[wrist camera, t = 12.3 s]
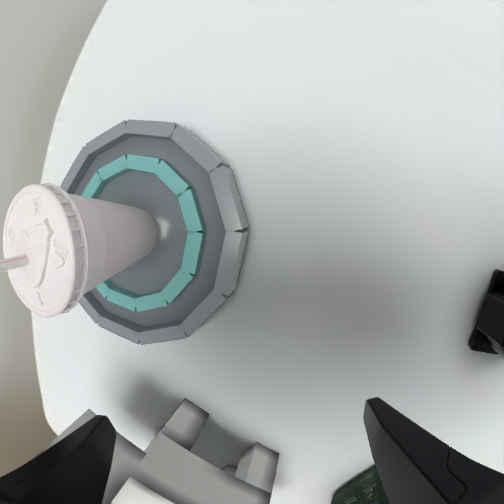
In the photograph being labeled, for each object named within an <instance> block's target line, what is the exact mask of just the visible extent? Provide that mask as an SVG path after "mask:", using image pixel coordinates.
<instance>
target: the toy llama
mask: <svg viewBox="0 0 504 504" xmlns="http://www.w3.org/2000/svg"><path fill="white" fill-rule="evenodd" d="M94 416H96V414H95V413H94V412H93V411H91V410H90V409H88V410H87V411H86V412H85V413H84V414H83V415H82V416H80V417H79V418H78V419H77V420H76V421H75V422H74V423H73V424H71V425H70V426H69V427H68V428H67V429H66V430H65V431H64V432H62V433H61V434H60V435H59V436H58V437H57V438H56V439H55V440H53V441H52V442H51V443H50V444H49V445H48V446H47V447H46V448H45V449H43V450H42V451H41V452H40V453H39V454H38V455H40V454H41V453H43V452H44V451H46V450H47V449H48V448H50V447H51V446H53V445H54V444H56V443H57V442H59V441H60V440H62V439H63V438H65V437H66V436H67V435H69V434H70V433H72V432H73V431H75V430H76V429H78V428H79V427H80V426H82V425H83V424H85V423H86V422H87V421H89V420H90V419H92V418H93V417H94ZM208 416H209V414H208V413H207V412H205V411H204V410H202V409H201V408H199V407H198V406H196V405H195V404H193V403H192V402H190V401H189V400H187V399H186V398H185V399H184V401H183V402H182V403H181V405H180V406H179V407H178V408H177V410H176V411H175V412H174V414H173V415H172V416H171V418H170V419H169V421H168V422H167V423H166V425H164V426H163V427H162V428H161V430H160V431H159V432H158V433H157V435H156V436H155V437H154V439H153V440H152V441H151V443H150V444H149V446H148V447H147V448H146V450H145V451H142V450H141V449H139V448H138V447H136V446H135V445H134V444H132V443H131V442H130V441H128V440H127V439H126V438H124V437H123V436H122V435H120V434H119V433H118V432H117V431H116V442H115V448H114V454H113V460H112V466H111V470H110V474H109V478H108V482H107V486H106V489H105V493H104V497H103V501H102V504H110V503H112V504H269V503H270V498H271V493H272V489H273V484H274V479H275V474H276V468H277V463H278V458H279V453H277V452H275V451H273V450H271V449H269V448H267V447H265V446H263V445H261V444H260V443H258V442H256V443H255V444H254V445H252V446H251V447H250V448H249V449H248V450H246V451H245V452H244V453H243V454H242V455H241V458H240V461H239V464H238V467H237V468H235V467H233V466H231V465H227V466H226V467H225V468H223V469H222V470H221V469H219V468H217V467H216V466H214V465H212V464H210V463H208V462H207V461H205V460H203V459H201V458H200V457H198V456H196V455H195V454H193V453H191V452H190V450H191V448H192V446H193V444H194V442H195V440H196V438H197V437H198V435H199V433H200V431H201V429H202V427H203V425H204V423H205V422H206V420H207V418H208ZM38 455H37V456H38ZM37 456H35V457H37ZM35 457H34V458H35ZM34 458H33V459H34Z"/></svg>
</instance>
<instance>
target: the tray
mask: <svg viewBox="0 0 504 504" xmlns="http://www.w3.org/2000/svg"><path fill="white" fill-rule="evenodd" d="M60 187H61V188H62V189H63V190H64V191H65V192H67V193H68V194H74V195H78V196H83V197H88V198H93V199H98V200H104V201H108V202H113V203H118V204H123V205H128V206H133V207H138V208H142V209H144V210H146V211H147V212H148V213H149V214H150V215H151V216H152V217H153V219H154V221H155V224H156V227H157V241H156V244H155V247H154V248H153V250H152V251H151V252H150V253H149V254H148V255H147V256H145V257H144V258H142V259H140V260H139V261H137V262H135V263H134V264H132V265H130V266H129V267H127V268H125V269H124V270H122V271H120V272H119V273H117V274H115V275H114V276H112V277H110V278H109V279H107V280H106V281H104V282H102V283H101V284H99V285H98V286H96V287H94V288H93V289H92V290H90V291H88V292H87V293H85V294H83V295H82V297H81V299H80V300H79V303H80V305H81V306H82V307H83V308H84V310H85V311H86V312H87V313H88V315H89V316H90V317H91V318H92V320H93V321H94V322H95V323H98V326H100V327H102V328H104V329H106V330H108V331H110V332H112V333H115V334H117V335H119V336H121V337H123V338H125V339H128V340H130V341H132V342H134V343H137V344H139V343H141V345H143V344H151V343H158V342H164V341H171V340H177V339H184V338H187V337H188V336H190V335H191V334H192V333H193V332H194V331H195V330H196V329H197V328H198V327H199V326H200V325H201V324H202V323H203V322H204V321H205V320H206V319H207V318H208V317H209V316H210V315H211V314H212V313H213V312H214V311H215V310H216V309H217V308H218V307H219V306H220V305H221V304H222V303H223V302H224V301H225V300H226V299H227V298H228V297H229V296H230V295H231V294H232V293H233V292H234V289H235V288H236V285H237V281H238V276H239V272H240V268H241V263H242V259H243V255H244V250H245V246H246V241H247V237H248V233H249V231H247V230H245V228H246V227H249V226H248V222H247V219H246V216H245V212H244V209H243V206H242V202H241V199H240V196H239V192H238V189H237V185H236V182H235V179H234V175H233V172H232V169H229V165H228V164H227V163H225V162H224V161H223V160H222V159H221V158H220V157H219V156H218V155H217V154H215V153H214V152H213V151H212V150H211V149H210V148H209V147H208V146H206V145H205V144H204V143H203V142H202V141H201V140H200V139H198V138H197V137H196V136H195V135H194V134H193V133H192V132H190V131H189V130H187V129H185V128H184V127H182V126H180V125H178V124H176V123H169V122H157V121H143V120H128V121H123V122H121V123H119V124H118V125H116V126H114V127H113V128H111V129H109V130H107V131H106V132H104V133H102V134H101V135H99V136H98V137H96V138H94V139H93V140H91V141H90V142H88V143H87V144H86V147H84V146H83V148H82V150H81V151H80V153H79V154H78V156H77V158H76V159H75V161H74V163H73V164H72V166H71V168H70V170H69V171H68V173H67V175H66V177H65V178H64V180H63V182H62V184H61V186H60Z"/></svg>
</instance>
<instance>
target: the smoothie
mask: <svg viewBox="0 0 504 504" xmlns="http://www.w3.org/2000/svg"><path fill="white" fill-rule="evenodd" d="M156 241H157V227H156V224H155V221H154V219H153V217H152V216H151V215H150V214H149V213H148V212H147V211H146V210H144V209H142V208H138V207H133V206H128V205H123V204H118V203H113V202H108V201H104V200H98V199H93V198H88V197H83V196H78V195H74V194H68V193H67V192H65V191H64V190H63V189H61V188H60V187H59V186H57V185H53V184H49V183H45V184H41V185H39V184H34V185H29V186H26V187H24V188H23V189H22V190H21V191H20V192H18V194H17V195H16V196H15V198H14V199H13V201H12V202H11V205H10V207H9V209H8V212H7V215H6V219H5V224H4V231H3V251H4V259H1V260H0V273H1V272H4V271H7V272H8V275H9V278H10V281H11V283H12V285H13V288H14V289H15V291H16V293H17V295H18V297H19V298H20V299H21V301H22V302H23V303H24V304H25V305H26V306H27V307H28V308H29V309H30V310H31V311H32V312H34V313H35V314H37V315H39V316H42V317H54V316H56V315H59V314H61V313H66V312H68V311H70V310H71V309H72V308H74V307H75V306H76V305H77V303H78V302H79V300H80V299H81V297H82V295H83V294H85V293H87V292H88V291H90V290H92V289H93V288H94V287H96V286H98V285H99V284H101V283H102V282H104V281H106V280H107V279H109V278H110V277H112V276H114V275H115V274H117V273H119V272H120V271H122V270H124V269H125V268H127V267H129V266H130V265H132V264H134V263H135V262H137V261H139V260H140V259H142V258H144V257H145V256H147V255H148V254H149V253H150V252H151V251H152V250H153V248H154V247H155V244H156Z"/></svg>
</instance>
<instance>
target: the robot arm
mask: <svg viewBox="0 0 504 504" xmlns="http://www.w3.org/2000/svg"><path fill="white" fill-rule="evenodd" d="M499 274H500V277H499V279H498V276H499ZM474 342H475V344H474ZM473 344H474V345H473ZM468 346H469V348H470V349H471V350H474V351H480V352H486V353H492V354H498V355H500V356H501V357H502V358H503V359H504V271H501V270H496V271H495V272H494V275H493V278H492V281H491V284H490V288H489V291H488V294H487V297H486V300H485V302H484V305H483V308H482V311H481V314H480V316H479V319H478V321H477V324H476V326H475V329H474V331H473V334H472V336H471V338H470V341H469V344H468ZM364 424H365V428H366V432H367V436H368V440H369V444H370V448H371V452H372V456H373V459H374V462H375V465H376V468H377V470H378V473H379V475H380V478H381V481H382V483H383V486H384V489H385V492H386V494H387V497H388V500H389V502H390V504H504V474H502V473H500V472H498V471H495V470H493V469H491V468H488V467H486V466H484V465H482V464H480V463H478V462H476V461H474V460H472V459H470V458H468V457H466V456H464V455H463V454H461V453H459V452H458V451H456V450H455V449H453V448H452V447H449V446H448V445H447V444H445V443H444V442H442V441H441V440H439V439H438V438H436V437H435V436H433V435H432V434H430V433H429V432H427V431H426V430H425V429H423V428H422V427H420V426H419V425H417V424H416V423H414V422H413V421H411V420H410V419H409V418H407V417H406V416H404V415H403V414H401V413H400V412H398V411H397V410H396V409H394V408H393V407H391V406H390V405H389V404H387V403H386V402H384V401H383V400H382V399H380V398H378V397H375V398H371V399H368V400H366V402H365V409H364ZM115 442H116V430H115V428H114V427H113V425H112V423H111V422H110V420H109V418H108V417H107V416H103V415H96V416H94V417H93V418H92V419H90V420H89V421H87V422H86V423H85V424H83V425H82V426H80V427H79V428H78V429H76V430H75V431H73V432H72V433H70V434H69V435H67V436H66V437H65V438H63V439H62V440H60V441H59V442H57V443H56V444H54V445H53V446H51V447H50V448H48V449H47V450H46V451H44V452H43V453H41V454H40V455H38V456H37V457H35V458H34V459H32V460H30V461H29V462H27V463H26V464H24V465H23V466H21V467H19V468H18V469H16V470H14V471H12V472H10V473H8V474H6V475H4V476H2V477H0V504H102V501H103V497H104V493H105V489H106V486H107V482H108V478H109V474H110V470H111V466H112V460H113V454H114V448H115Z"/></svg>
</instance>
